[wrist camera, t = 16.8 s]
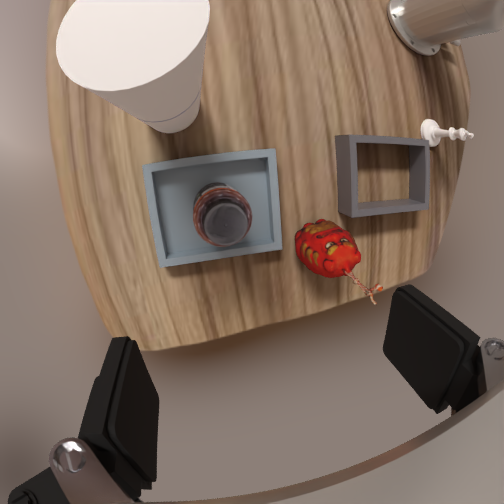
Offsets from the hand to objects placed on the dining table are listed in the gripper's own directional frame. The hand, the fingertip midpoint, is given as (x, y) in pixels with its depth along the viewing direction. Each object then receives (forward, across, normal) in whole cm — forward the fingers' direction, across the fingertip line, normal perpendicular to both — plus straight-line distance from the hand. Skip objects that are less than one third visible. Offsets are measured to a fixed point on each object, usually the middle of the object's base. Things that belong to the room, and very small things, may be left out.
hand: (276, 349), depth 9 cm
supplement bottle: (+29, 0, 0) cm, 29 cm away
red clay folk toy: (+30, -13, +8) cm, 33 cm away
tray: (+29, 0, 0) cm, 29 cm away
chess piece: (+30, -36, -9) cm, 48 cm away
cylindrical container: (+30, +4, -13) cm, 33 cm away
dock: (+30, -24, -2) cm, 38 cm away
